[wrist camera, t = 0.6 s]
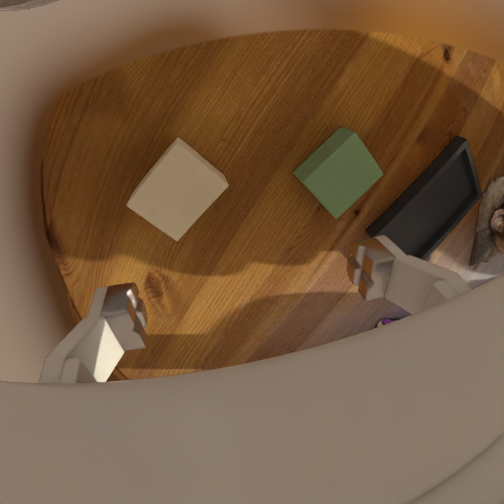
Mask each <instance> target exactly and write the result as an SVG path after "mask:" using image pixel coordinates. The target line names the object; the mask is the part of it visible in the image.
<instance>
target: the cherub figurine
mask: <svg viewBox="0 0 504 504" xmlns="http://www.w3.org/2000/svg"><path fill="white" fill-rule="evenodd" d="M482 196H483V198H482V201H481V204H480V205H479V206H480V208H479V214H478V221H477V228H476V234H475V240H474V245H473V250H472V255H471V260H470V265H469V266H473V265H474V264H475V263H477V262H478V263H477V264H476V266H475V268H474V269H476V268H477V267H478V265H479V262H488V261H489V260H490V259H491V258H492V257H494V256H495V254H496V253H497V252H498V251H499V252H500V253H501V254H504V176H501V177H499V178H498V179H497V178H495V180H494V181H493V177H492V178H490V181H489V184H488V187H487V190H486V191H485V192H483V193H482ZM474 269H473V270H474Z"/></svg>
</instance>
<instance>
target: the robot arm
mask: <svg viewBox="0 0 504 504" xmlns="http://www.w3.org/2000/svg"><path fill="white" fill-rule="evenodd" d="M349 252H350V254H351V255H352V256H351V257H350V258H349V260H348V262H347V272H348V276H349V278H350V280H351V281H352V283H353V284H355V285H357V286H359V289H358V291H359V293H360V294H361V295H362V297H363V298H364V299H365V301H370V300H374V299H378V298H381V297H384V298H385V299H387V300H389V301H390V302H392V303H394V304H395V305H397V306H399V307H400V308H402V309H404V310H405V311H407V312H409V313H410V314H412V315H410V316H408V317H405V318H402V319H400V320H397V321H394V322H392V323H389V324H386V325H383V326H380V327H377V328H374V329H371V330H368V331H365V332H362V333H359V334H356V335H353V336H350V337H347V338H343V339H340V340H337V341H333V342H330V343H326V344H323V345H319V346H316V347H312V348H308V349H304V350H301V351H297V352H293V353H289V354H285V355H281V356H276V357H272V358H268V359H263V360H259V361H254V362H249V363H245V364H240V365H234V366H229V367H224V368H218V369H213V370H207V371H200V372H194V373H187V374H180V375H173V376H165V377H156V378H147V379H137V380H125V381H113V382H106V380H107V379H108V377H109V375H110V374H111V372H112V371H113V369H114V368H115V366H116V365H117V363H118V361H119V360H120V358H121V357H122V355H123V354H124V351H128V350H134V349H141V348H145V345H146V332H145V330H144V328H145V327H146V325H147V312H146V308H145V305H144V302H143V300H142V299H140V298H139V297H138V294H139V290H138V288H137V285H136V284H135V283H134V282H132V283H125V284H118V285H112V286H106V287H100V288H97V289H96V290H95V293H94V296H93V299H92V303H91V306H90V309H89V313H88V316H87V318H84V319H83V320H82V321H81V322H80V323H79V324H78V325H77V326H76V327H75V328H74V329H73V330H72V331H71V332H70V333H69V334H68V335H67V336H66V337H65V338H64V339H63V340H62V341H61V342H60V343H59V344H58V345H57V346H56V347H55V348H54V350H53V351H52V352H51V353H50V354H49V355H48V356H47V357H46V358H45V361H44V364H43V368H42V371H41V375H40V379H39V383H24V382H7V381H6V382H5V381H0V504H504V273H503V274H501V275H499V276H497V277H495V278H493V279H491V280H489V281H487V282H485V283H483V284H481V285H479V286H477V287H475V288H473V289H472V288H471V287H470V286H469V285H468V284H467V283H466V282H465V281H464V280H463V279H462V278H461V277H460V276H459V275H458V274H457V273H455V272H453V271H450V270H448V269H445V268H443V267H440V266H438V265H435V264H432V263H430V262H427V261H424V260H422V259H419V258H416V257H414V256H411V255H408V256H407V255H406V254H405V253H404V252H403V251H402V250H401V249H399V248H398V247H397V246H396V245H395V244H394V243H393V242H392V241H391V240H390V239H389V238H388V237H387V236H384V235H382V236H377V237H373V238H370V239H365V240H360V241H355V242H351V244H350V248H349Z"/></svg>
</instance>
